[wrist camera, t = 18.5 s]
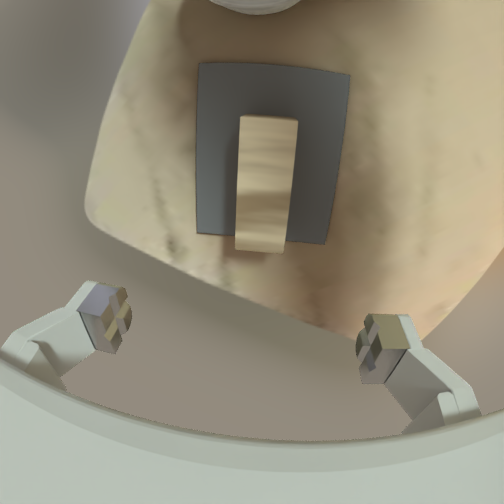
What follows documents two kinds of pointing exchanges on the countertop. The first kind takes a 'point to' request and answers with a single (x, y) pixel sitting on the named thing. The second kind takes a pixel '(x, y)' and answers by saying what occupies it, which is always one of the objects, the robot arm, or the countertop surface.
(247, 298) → the countertop surface
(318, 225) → the rubber mat
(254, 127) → the maple block
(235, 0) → the ramekin
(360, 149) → the countertop surface
